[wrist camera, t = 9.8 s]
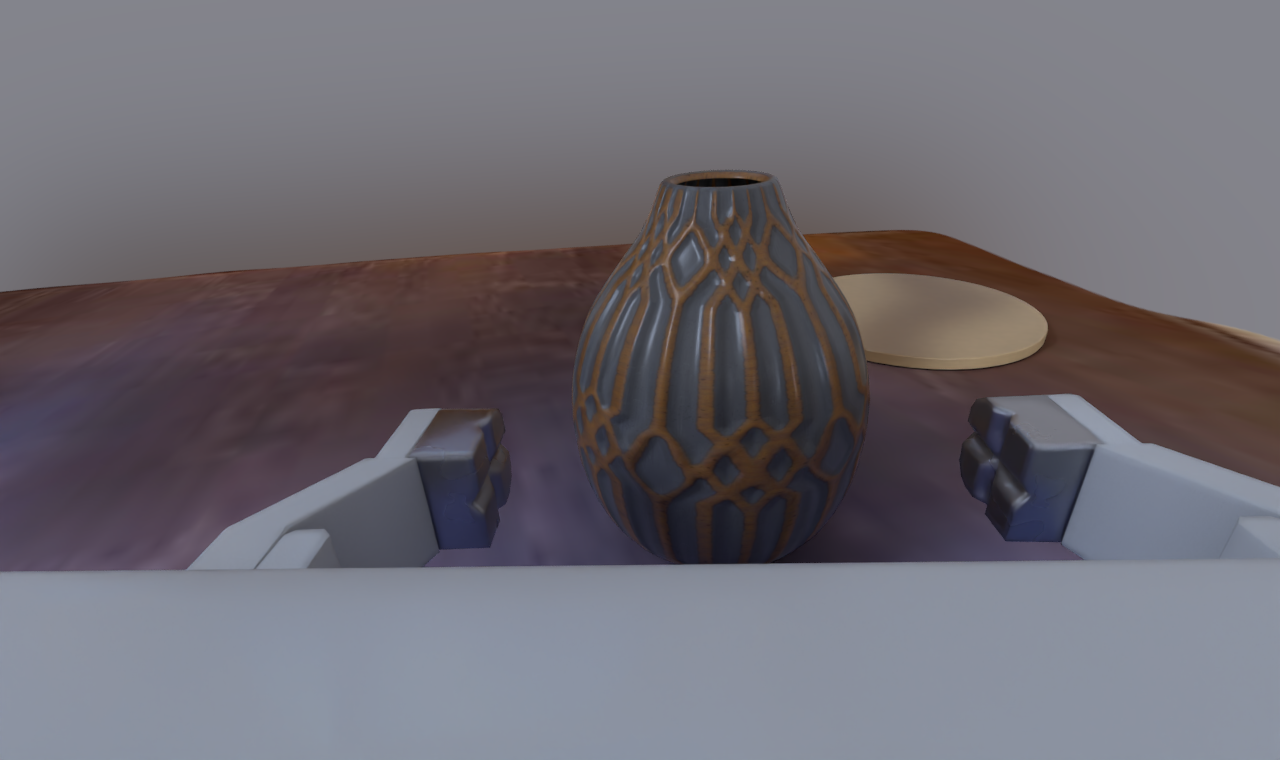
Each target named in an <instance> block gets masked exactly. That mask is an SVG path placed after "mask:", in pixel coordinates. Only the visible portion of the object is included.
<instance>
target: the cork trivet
mask: <svg viewBox="0 0 1280 760" xmlns="http://www.w3.org/2000/svg"><path fill="white" fill-rule="evenodd" d="M833 279H834V281H835V282H836V283H837V285H838V287H839V288H840V290H841V291H842V293H843V294H844V296H845V298H846V300H847V302H848V303H849V305H850V307H851V309H852V311H853V313H854V316H855V319H856V321H857V324H858V327H859V330H860V334H861V338H862V341H863V345H864V350H865V355H866V360H867V361H871V362H876V363H882V364H888V365H894V366H902V367H910V368H922V369H945V370H956V369H976V368H986V367H993V366H999V365H1004V364H1008V363H1012V362H1015V361H1019V360H1021V359H1024V358H1026V357H1029V356H1030V355H1032V354H1033V353H1035V352H1037V351H1038V350H1039V349H1040V348H1041V347H1042V346H1043V344H1044V342H1045V339H1046V336H1047V332H1048V324H1047V322H1046V319H1045V318H1044V316H1043V315H1042V314H1041V313H1040V312H1039V311H1038V310H1036V309H1035V308H1034V307H1033V306H1031V305H1029V304H1028V303H1026V302H1024V301H1022V300H1020V299H1018V298H1016V297H1014V296H1011V295H1009V294H1006V293H1003V292H1001V291H998V290H995V289H991V288H988V287H985V286H981V285H977V284H973V283H968V282H964V281H959V280H953V279H948V278H940V277H933V276H924V275H912V274H892V273H875V274H857V275H847V276H839V277H834V278H833Z"/></svg>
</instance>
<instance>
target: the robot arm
mask: <svg viewBox="0 0 1280 760" xmlns="http://www.w3.org/2000/svg"><path fill="white" fill-rule="evenodd" d="M968 422H969V423H970V425H971V427H972V428H973V430H974V433H973V434H972V435H971V436H970V437H969V438H967V439H966V440H965V441H964V442H963V444H962V449H961V454H960V459H959V462H960V472H961V477H962V480H963V482H964V485H965V487H966V489H967V490H968V491H969V493H970V494H971V496H972V497H974V498H976V499H978V500H980V501H982V502H983V503H985V504H987V508H986V511H985V515H986V516H987V517H988V519H989V520H990V521H991V523H992V524H993V525H994V527H995V528H996V529H997V531H998V532H999V533H1000V535H1001V536H1002V537H1003V539H1004V540H1005V541H1011V542H1062V543H1061V545H1063V546H1064V547H1066V548H1067V549H1069V550H1070V551H1072V552H1073V553H1075V554H1077V555H1078V556H1080V557H1081V558H1083V559H1084V560H1053V561H961V562H869V563H775V564H681V565H587V566H493V567H423V566H424V565H425V564H427V563H428V562H429V561H430V560H431V559H432V558H433V557H435V556H436V555H437V554H438V553H439V550H441V549H466V548H490V546H491V544H492V541H493V538H494V535H495V533H496V530H497V527H498V524H499V522H500V518H499V513H498V509H499V508H501V507H502V506H503V505H505V504H506V502H507V499H508V496H509V493H510V485H511V461H510V455H509V451H508V450H507V449H506V448H505V447H504V446H503V445H502V444H501V443H500V442H501V440H502V438H503V435H504V433H505V426H504V421H503V416H502V413H501V412H500V410H499V409H498V408H473V409H441V408H432V409H415V410H411V411H410V412H409V413H408V415H407V416H406V417H405V419H404V420H403V421H402V423H401V424H400V425H399V427H398V428H397V429H396V431H395V432H394V433H393V435H392V436H391V437H390V439H389V440H388V441H387V443H386V444H385V445H384V447H383V448H382V449H381V451H380V452H379V453H378V455H377V456H376V457H375V458H366V459H364V460H362V461H360V462H358V463H356V464H354V465H352V466H350V467H348V468H346V469H344V470H342V471H340V472H338V473H336V474H334V475H332V476H330V477H328V478H326V479H324V480H322V481H320V482H318V483H316V484H314V485H312V486H310V487H308V488H306V489H304V490H302V491H300V492H298V493H296V494H294V495H292V496H290V497H288V498H286V499H284V500H282V501H280V502H278V503H276V504H274V505H272V506H270V507H268V508H266V509H264V510H262V511H260V512H258V513H256V514H253V515H251V516H249V517H247V518H245V519H243V520H241V521H239V522H237V523H235V524H233V525H231V526H229V527H227V528H226V529H225V530H224V531H223V532H222V533H221V534H220V535H219V536H218V537H217V538H216V539H215V540H214V541H213V542H212V543H211V544H210V545H209V546H208V548H207V549H206V550H205V551H204V552H203V553H202V554H201V555H200V556H199V557H198V558H197V559H196V560H195V561H194V562H193V563H192V564H191V565H190V566H189V567H188V568H187V569H186V570H111V571H15V572H0V760H1280V487H1277V486H1275V485H1272V484H1269V483H1266V482H1263V481H1260V480H1257V479H1254V478H1251V477H1248V476H1245V475H1243V474H1240V473H1237V472H1234V471H1231V470H1228V469H1225V468H1222V467H1219V466H1216V465H1214V464H1211V463H1208V462H1205V461H1202V460H1199V459H1196V458H1193V457H1190V456H1187V455H1184V454H1182V453H1179V452H1176V451H1173V450H1170V449H1167V448H1164V447H1161V446H1158V445H1155V444H1152V443H1148V444H1142V443H1141V442H1139V441H1138V440H1137V439H1135V438H1134V437H1133V436H1131V435H1130V434H1129V433H1127V432H1126V431H1125V430H1124V429H1122V428H1121V427H1120V426H1118V425H1117V424H1116V423H1114V422H1113V421H1112V420H1110V419H1109V418H1108V417H1107V416H1105V415H1104V414H1103V413H1101V412H1100V411H1099V410H1097V409H1096V408H1095V407H1093V406H1092V405H1091V404H1089V403H1088V402H1087V401H1086V400H1084V399H1083V398H1082V397H1080V396H1078V395H1074V394H1056V395H1031V396H1009V397H988V398H980V399H976V401H975V402H974V404H973V406H972V407H971V411H970V414H969V418H968Z"/></svg>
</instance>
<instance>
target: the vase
mask: <svg viewBox="0 0 1280 760" xmlns="http://www.w3.org/2000/svg"><path fill="white" fill-rule="evenodd" d="M869 403H870V392H869V376H868V368H867V360H866V355H865V350H864V345H863V341H862V338H861V334H860V330H859V327H858V324H857V321H856V319H855V316H854V313H853V311H852V309H851V307H850V305H849V303H848V302H847V300H846V298H845V296H844V294H843V293H842V291H841V290H840V288H839V287H838V285H837V283H836V282H835V281H834V279H833V278H832V276H831V275H830V273H829V272H828V270H827V269H826V268H825V266H824V265H823V263H822V262H821V260H820V259H819V257H818V256H817V255H816V253H815V252H814V251H813V249H812V248H811V246H810V245H809V244H808V242H807V241H806V239H805V238H804V236H803V235H802V234H801V232H800V231H799V229H798V227H797V225H796V223H795V221H794V219H793V216H792V214H791V212H790V209H789V207H788V204H787V201H786V198H785V195H784V193H783V189H782V187H781V184H780V182H779V180H778V178H777V177H775V176H773V175H771V174H768V173H764V172H757V171H745V170H711V171H699V172H689V173H684V174H678V175H674V176H670V177H668V178H666V179H664V180H663V181H662V182H661V184H660V186H659V188H658V191H657V194H656V196H655V199H654V202H653V205H652V208H651V210H650V213H649V216H648V218H647V220H646V222H645V224H644V226H643V228H642V230H641V232H640V234H639V235H638V237H637V238H636V240H635V241H634V243H633V244H632V246H631V247H630V248H629V250H628V251H627V253H626V254H625V255H624V257H623V258H622V260H621V261H620V263H619V264H618V265H617V267H616V268H615V270H614V271H613V273H612V274H611V276H610V277H609V279H608V280H607V282H606V283H605V285H604V286H603V288H602V289H601V291H600V293H599V294H598V296H597V297H596V299H595V301H594V303H593V305H592V307H591V309H590V311H589V313H588V315H587V318H586V321H585V323H584V326H583V329H582V332H581V336H580V340H579V343H578V348H577V353H576V358H575V364H574V371H573V378H572V411H573V421H574V428H575V434H576V440H577V445H578V449H579V454H580V458H581V461H582V464H583V467H584V469H585V472H586V475H587V477H588V480H589V482H590V484H591V486H592V488H593V490H594V492H595V494H596V496H597V498H598V500H599V502H600V503H601V505H602V506H603V508H604V509H605V511H606V512H607V513H608V515H609V516H610V518H611V519H612V520H613V522H614V523H615V524H616V525H617V526H618V527H619V528H620V529H621V530H622V531H623V532H624V533H625V534H626V535H627V536H629V537H630V538H631V539H632V540H634V541H635V542H636V543H637V544H639V545H640V546H641V547H643V548H644V549H646V550H647V551H649V552H651V553H653V554H655V555H656V556H659V557H661V558H663V559H665V560H668V561H670V562H672V563H675V564H678V565H681V564H766V563H770V562H772V561H775V560H777V559H780V558H782V557H784V556H786V555H787V554H789V553H791V552H792V551H794V550H795V549H797V548H798V547H800V546H801V545H803V544H804V543H806V542H807V541H808V540H810V539H811V538H812V537H813V536H815V535H816V534H817V533H818V532H819V531H820V530H821V528H822V527H823V526H824V525H825V523H826V522H827V521H828V520H829V519H830V517H831V516H832V515H833V514H834V512H835V511H836V509H837V507H838V506H839V504H840V502H841V501H842V499H843V497H844V496H845V494H846V492H847V490H848V488H849V486H850V484H851V481H852V479H853V477H854V475H855V472H856V470H857V467H858V464H859V460H860V456H861V452H862V449H863V445H864V440H865V435H866V429H867V424H868V413H869Z"/></svg>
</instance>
